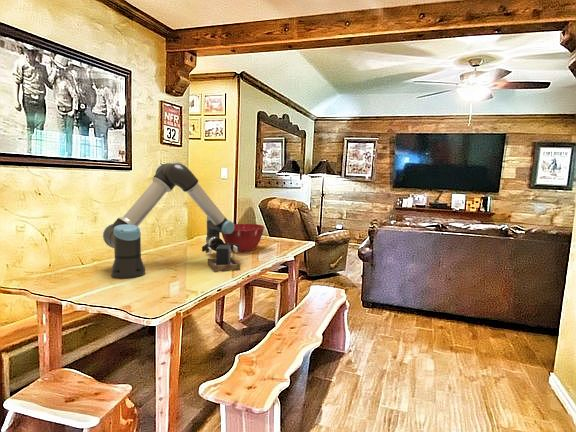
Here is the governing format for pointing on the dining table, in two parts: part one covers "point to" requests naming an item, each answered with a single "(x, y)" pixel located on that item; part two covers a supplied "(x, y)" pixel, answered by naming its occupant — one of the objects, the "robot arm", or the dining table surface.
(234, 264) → the walnut tray
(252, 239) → the mixing bowl
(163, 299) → the dining table surface
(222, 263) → the small box
